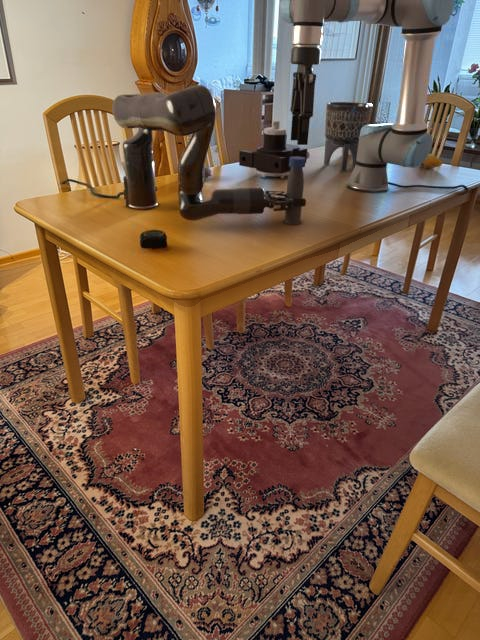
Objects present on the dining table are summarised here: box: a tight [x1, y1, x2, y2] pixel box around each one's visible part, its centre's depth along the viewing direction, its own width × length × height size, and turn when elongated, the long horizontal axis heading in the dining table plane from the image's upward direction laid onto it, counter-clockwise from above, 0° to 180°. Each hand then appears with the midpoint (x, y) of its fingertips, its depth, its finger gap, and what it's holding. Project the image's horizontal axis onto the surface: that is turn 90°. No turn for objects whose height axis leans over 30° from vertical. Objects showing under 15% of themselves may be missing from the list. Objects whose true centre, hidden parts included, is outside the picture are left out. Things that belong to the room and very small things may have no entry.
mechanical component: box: [238, 120, 311, 179], centre depth 191 cm, size 22×21×30 cm
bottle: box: [284, 167, 305, 226], centre depth 134 cm, size 5×5×18 cm
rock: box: [204, 165, 213, 179], centre depth 182 cm, size 13×9×6 cm, turn 131°
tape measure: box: [139, 229, 168, 250], centre depth 117 cm, size 7×7×4 cm
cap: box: [289, 156, 306, 169], centre depth 130 cm, size 5×4×2 cm
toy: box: [420, 153, 443, 170], centre depth 212 cm, size 11×6×15 cm
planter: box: [323, 101, 374, 172], centre depth 204 cm, size 20×20×26 cm
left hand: (302, 199), depth 136 cm, fingers closed on bottle, 4 cm apart
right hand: (298, 142), depth 127 cm, fingers open, 7 cm apart
